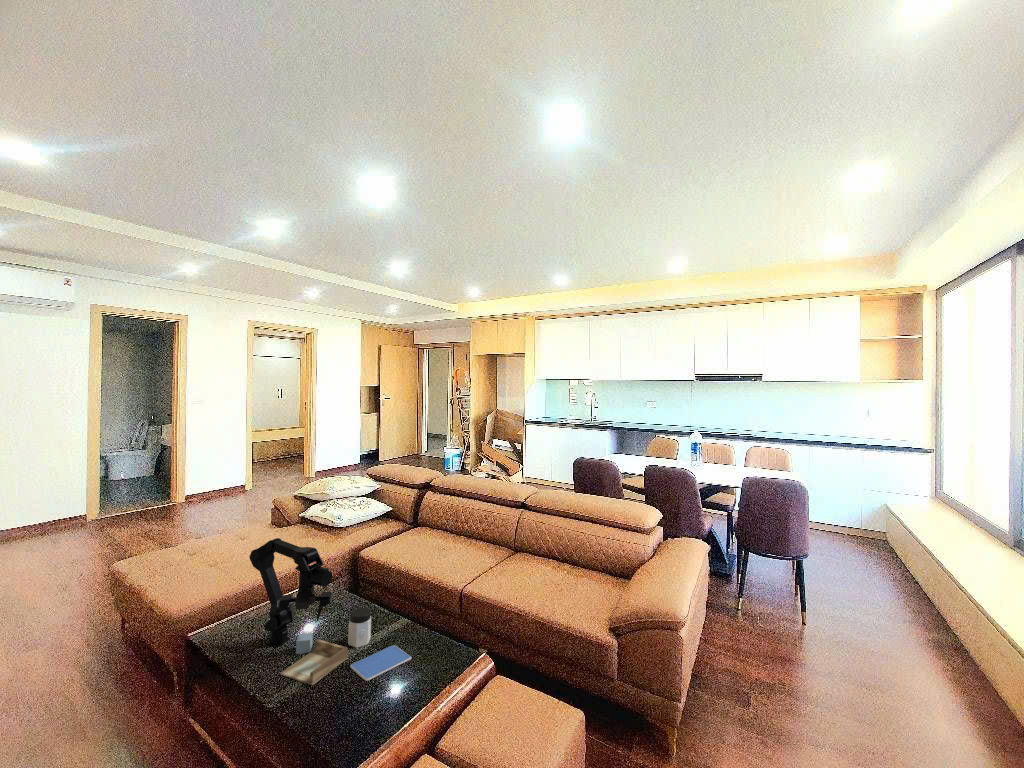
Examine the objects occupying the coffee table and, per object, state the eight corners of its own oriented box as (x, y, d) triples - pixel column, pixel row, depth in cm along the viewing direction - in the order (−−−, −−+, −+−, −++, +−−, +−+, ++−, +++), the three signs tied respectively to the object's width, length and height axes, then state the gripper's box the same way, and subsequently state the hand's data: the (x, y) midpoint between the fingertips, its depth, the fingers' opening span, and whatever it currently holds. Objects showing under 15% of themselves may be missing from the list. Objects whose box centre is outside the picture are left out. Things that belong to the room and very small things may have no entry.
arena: (280, 674, 157) (280, 663, 157) (317, 649, 173) (317, 639, 173) (312, 685, 152) (312, 673, 152) (347, 658, 168) (347, 647, 168)
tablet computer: (394, 646, 177) (394, 643, 177) (412, 660, 169) (412, 656, 169) (348, 668, 163) (349, 664, 163) (366, 683, 154) (366, 679, 154)
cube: (295, 654, 170) (296, 641, 170) (298, 647, 175) (299, 634, 175) (309, 652, 171) (310, 639, 171) (312, 645, 176) (312, 633, 176)
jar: (350, 650, 173) (351, 619, 174) (345, 640, 180) (346, 610, 181) (373, 643, 178) (374, 613, 179) (367, 634, 185) (368, 605, 185)
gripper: (275, 592, 164) (273, 635, 163) (328, 588, 168) (326, 629, 168) (283, 580, 174) (281, 619, 174) (333, 576, 179) (331, 615, 178)
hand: (305, 621), depth 173 cm, fingers open, 9 cm apart
